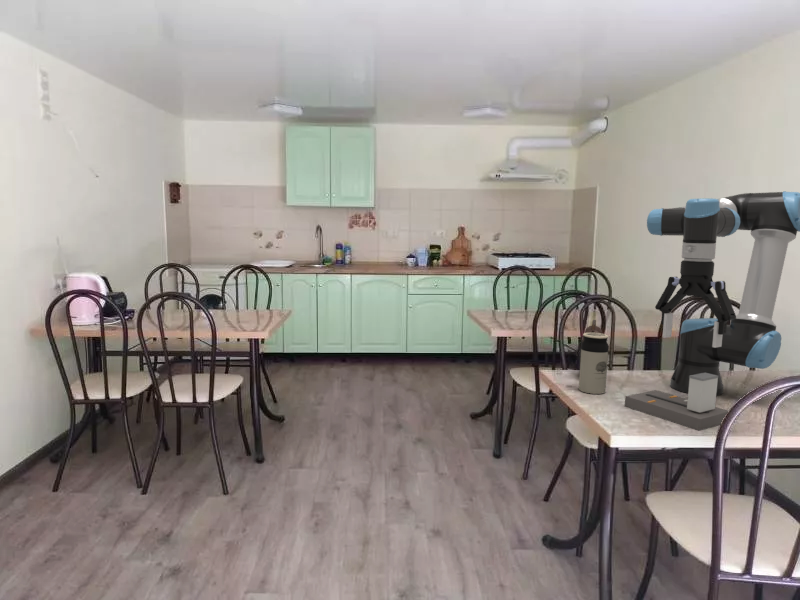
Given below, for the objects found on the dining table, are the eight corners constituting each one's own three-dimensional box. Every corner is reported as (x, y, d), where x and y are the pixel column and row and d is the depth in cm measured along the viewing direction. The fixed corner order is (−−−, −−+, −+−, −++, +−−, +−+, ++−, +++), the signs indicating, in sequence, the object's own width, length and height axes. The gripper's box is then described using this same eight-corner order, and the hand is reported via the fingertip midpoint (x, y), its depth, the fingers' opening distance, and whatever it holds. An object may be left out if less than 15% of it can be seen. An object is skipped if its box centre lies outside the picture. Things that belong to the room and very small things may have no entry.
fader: (686, 408, 146) (689, 375, 145) (702, 405, 150) (705, 372, 149) (699, 412, 143) (702, 378, 142) (715, 408, 147) (718, 375, 146)
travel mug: (574, 387, 177) (578, 332, 175) (598, 387, 178) (602, 332, 176) (585, 394, 169) (589, 337, 167) (609, 394, 170) (614, 337, 168)
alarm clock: (579, 371, 199) (583, 316, 196) (600, 373, 196) (604, 317, 193) (576, 381, 185) (580, 322, 183) (599, 383, 182) (604, 324, 180)
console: (624, 406, 159) (625, 395, 158) (654, 399, 166) (655, 389, 166) (699, 430, 140) (700, 418, 140) (729, 422, 147) (730, 410, 147)
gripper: (645, 257, 149) (639, 334, 152) (739, 263, 128) (731, 353, 131) (662, 257, 153) (656, 332, 156) (757, 262, 132) (748, 349, 135)
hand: (690, 341), depth 143 cm, fingers open, 13 cm apart
